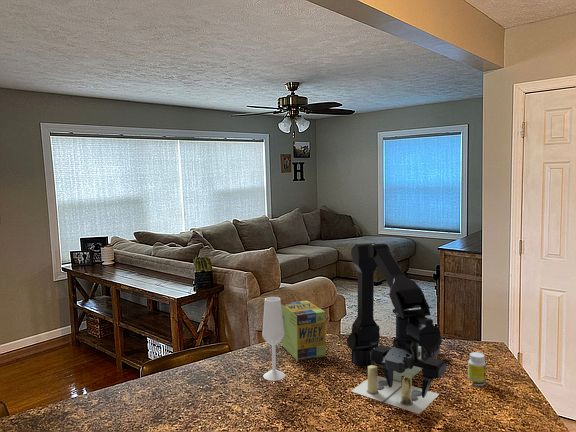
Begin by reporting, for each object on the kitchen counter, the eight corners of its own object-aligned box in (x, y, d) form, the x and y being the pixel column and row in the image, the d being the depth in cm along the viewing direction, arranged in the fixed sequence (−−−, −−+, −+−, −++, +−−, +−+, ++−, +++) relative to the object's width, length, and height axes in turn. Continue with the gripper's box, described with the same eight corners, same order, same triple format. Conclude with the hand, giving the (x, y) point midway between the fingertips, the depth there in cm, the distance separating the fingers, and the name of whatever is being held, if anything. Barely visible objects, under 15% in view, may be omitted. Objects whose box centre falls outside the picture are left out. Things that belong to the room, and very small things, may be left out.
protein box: (297, 361, 151) (296, 315, 150) (281, 345, 166) (280, 303, 164) (326, 356, 155) (325, 311, 154) (307, 341, 169) (307, 299, 168)
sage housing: (386, 381, 136) (386, 353, 135) (402, 368, 144) (402, 342, 144) (405, 387, 132) (405, 358, 131) (420, 373, 141) (421, 346, 140)
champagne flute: (264, 370, 145) (262, 295, 142) (285, 371, 144) (284, 295, 142) (262, 380, 138) (260, 302, 136) (284, 380, 138) (282, 302, 135)
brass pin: (399, 402, 121) (399, 377, 120) (403, 398, 123) (403, 373, 122) (409, 405, 119) (409, 379, 119) (413, 401, 121) (413, 376, 121)
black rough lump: (392, 360, 153) (394, 332, 151) (405, 343, 164) (406, 317, 162) (433, 371, 146) (435, 342, 144) (443, 353, 158) (445, 326, 155)
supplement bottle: (487, 387, 131) (487, 358, 131) (469, 385, 132) (470, 357, 132) (483, 379, 136) (484, 351, 135) (466, 378, 137) (467, 350, 136)
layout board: (350, 395, 128) (350, 366, 127) (373, 378, 138) (373, 351, 137) (419, 418, 115) (419, 387, 115) (439, 398, 125) (439, 369, 125)
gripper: (359, 335, 119) (359, 393, 121) (429, 352, 107) (428, 416, 109) (380, 323, 128) (380, 378, 129) (447, 338, 116) (446, 398, 117)
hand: (406, 392), depth 121 cm, fingers open, 9 cm apart
